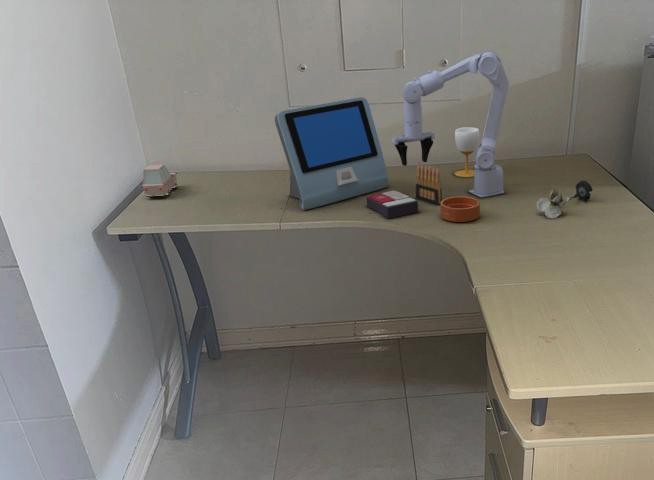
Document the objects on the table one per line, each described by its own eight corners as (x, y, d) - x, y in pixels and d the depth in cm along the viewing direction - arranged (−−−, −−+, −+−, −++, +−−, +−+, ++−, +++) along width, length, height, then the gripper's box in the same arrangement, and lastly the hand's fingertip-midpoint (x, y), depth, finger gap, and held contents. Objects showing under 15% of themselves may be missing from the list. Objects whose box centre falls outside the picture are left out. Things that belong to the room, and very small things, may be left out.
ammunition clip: (442, 203, 210) (441, 167, 204) (438, 205, 209) (437, 168, 202) (419, 197, 216) (418, 161, 210) (415, 198, 215) (414, 162, 209)
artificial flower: (596, 206, 207) (604, 179, 200) (548, 230, 197) (554, 203, 190) (575, 193, 212) (583, 166, 204) (527, 216, 201) (533, 189, 194)
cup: (451, 172, 241) (451, 128, 233) (473, 169, 243) (474, 126, 235) (459, 178, 234) (459, 133, 225) (482, 175, 236) (483, 131, 228)
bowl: (466, 207, 206) (466, 194, 203) (486, 218, 196) (487, 204, 194) (433, 214, 201) (433, 200, 199) (453, 226, 192) (453, 211, 189)
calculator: (395, 189, 212) (418, 198, 201) (396, 201, 214) (418, 212, 203) (365, 195, 208) (387, 205, 196) (366, 208, 210) (388, 218, 198)
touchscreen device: (307, 212, 205) (294, 115, 191) (276, 201, 218) (261, 109, 204) (391, 188, 225) (385, 98, 210) (358, 179, 238) (350, 94, 224)
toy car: (182, 186, 235) (176, 158, 230) (169, 199, 222) (162, 170, 217) (156, 187, 235) (150, 159, 230) (142, 200, 222) (135, 171, 217)
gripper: (427, 116, 214) (427, 157, 221) (387, 122, 208) (389, 163, 215) (437, 120, 208) (437, 162, 215) (397, 126, 203) (399, 168, 210)
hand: (414, 163), depth 215 cm, fingers open, 7 cm apart
